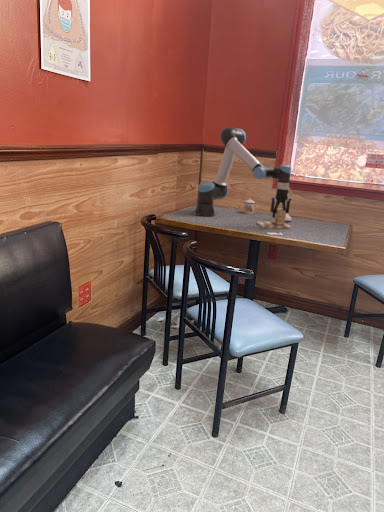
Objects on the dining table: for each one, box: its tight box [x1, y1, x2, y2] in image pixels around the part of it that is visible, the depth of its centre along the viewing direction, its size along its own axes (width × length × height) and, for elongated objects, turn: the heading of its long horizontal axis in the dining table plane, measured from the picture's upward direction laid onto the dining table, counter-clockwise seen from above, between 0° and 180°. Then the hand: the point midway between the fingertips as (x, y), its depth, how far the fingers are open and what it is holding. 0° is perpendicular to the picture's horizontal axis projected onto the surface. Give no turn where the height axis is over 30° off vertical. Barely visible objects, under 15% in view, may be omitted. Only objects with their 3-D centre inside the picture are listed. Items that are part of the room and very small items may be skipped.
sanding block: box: [271, 208, 286, 226], centre depth 273 cm, size 9×5×10 cm, turn 10°
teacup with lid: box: [242, 197, 259, 215], centre depth 315 cm, size 12×9×12 cm
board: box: [255, 221, 292, 230], centre depth 274 cm, size 20×14×2 cm
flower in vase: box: [284, 187, 293, 222], centre depth 293 cm, size 13×11×25 cm
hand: (278, 222), depth 274 cm, fingers closed on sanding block, 5 cm apart
